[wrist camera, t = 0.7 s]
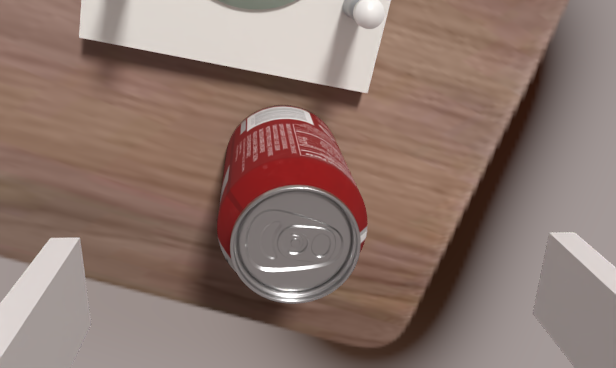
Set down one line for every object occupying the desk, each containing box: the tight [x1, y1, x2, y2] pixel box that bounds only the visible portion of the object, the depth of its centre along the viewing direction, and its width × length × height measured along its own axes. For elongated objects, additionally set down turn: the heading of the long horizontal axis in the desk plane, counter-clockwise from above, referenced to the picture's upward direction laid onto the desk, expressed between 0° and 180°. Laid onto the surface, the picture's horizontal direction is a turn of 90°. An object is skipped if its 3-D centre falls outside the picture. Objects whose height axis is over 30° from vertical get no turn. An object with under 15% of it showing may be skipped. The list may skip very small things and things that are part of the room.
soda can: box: [217, 105, 367, 304], centre depth 29 cm, size 7×7×12 cm
